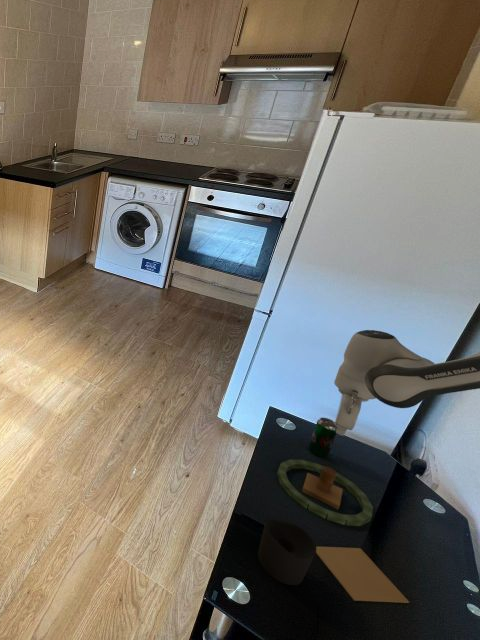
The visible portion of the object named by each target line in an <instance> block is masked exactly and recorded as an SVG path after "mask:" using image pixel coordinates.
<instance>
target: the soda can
mask: <svg viewBox="0 0 480 640" xmlns="http://www.w3.org/2000/svg"><path fill="white" fill-rule="evenodd" d="M337 426H338V425H336V423H335V420H333V419H331V418H328V417H320V418H318V419H317V421H316V424H315V427H314V430H313V432H312V436H311V438H310V442H309V444H308V450H309V452H310V453H312V454H313V455H314V454H315V455H314V456H316V457H319V458H328V457H329V456H330V453H331V450H332V448H333V445H334V442H335V439H336V437H337V435H338V434H337V433H336V429H337Z"/></svg>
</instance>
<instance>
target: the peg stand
mask: <svg viewBox="0 0 480 640" xmlns="http://www.w3.org/2000/svg"><path fill="white" fill-rule="evenodd" d="M323 466H324V467H323V468H322V471H321V474H320V473H319V477H318V476H316V475H315V474H312V473H310V472H307V473H306V477H305V479H304V483H303V486H302V490H301V492H302V493H304V494H306V495H307V496H310V497H312V498H314V499H315V500H317V501H319V502H321V503H324V504H326V505H327V506H329V507H332V508H334V509H336V510H338V511H339V509H340V507H341V502H342V497H343V491H344V489H343V488H341V487H339V486H337V485H335V484H334V482H335V480H334V479H335V477H336V474H337V473H338V472H336V470H335V469H334V468H331V467H330V466H325V465H323Z"/></svg>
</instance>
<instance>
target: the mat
mask: <svg viewBox="0 0 480 640" xmlns="http://www.w3.org/2000/svg"><path fill="white" fill-rule="evenodd" d="M315 555H317V556H318V558H319V559H320V560H321V561H322V562H323V564H324V565H325V566H326V567H327V569H328V570H329V571H330V573H331V574H332V575H333V576H334V578H335V579H336V580H337V582H339V584H340V586H342V588H343V589H344V590H345V591H346V592H347V594H348V595H349V596H350V597H351V599H352V600H353V601H355V602H376V603H377V602H379V603H399V604H400V603H403V604H409V603H410V601H409V600H408V599H407V598H406V597H405V595H404V594H403V593H402V592H401V591H400V590H399V589H398V588H397V586H395V584H393V582H392V581H391V580H390V579H389V578H388V577H387V576H386V575H385V574H384V573H383V571H382V570H381V569H380V568H379V567H378V566H377V565H376V564H375V562H373V560H372V559H371V558H370V557H369V556H368V555H367V554H366V553H365V551H364V550H363V549H362V548H361V547H339V546H317V545H316V553H315Z"/></svg>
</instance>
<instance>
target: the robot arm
mask: <svg viewBox="0 0 480 640" xmlns="http://www.w3.org/2000/svg"><path fill="white" fill-rule="evenodd" d="M333 384H334V385H335V387H336V388H337V390H338V392H339V393H340V394H341V395H340V400H339V405H338V409H337V412H336V416H335V420H334V422H335V423H336V425H338V426H337V429H336V433H337V434H336V435H339V436H342V437H344V436H345V434H346V432H347V431H352V430H353V429H354V428H355V426H356V423H357V421H358V418H359V415H360V412H361V408H362V404H363V403H364V402H368V401H369V400H375V399H377V400H378V401H379V402H380V403H382V404H385V405H387V406H390V407H392V408H397V409H409V408H413V407H415V406H417V405H418V404H420V403H421V402H423V401H425V400H427V399H429V398H431V397H434V396H440V395H445V394H446V395H447V394H453V393H459V392H466V391H472V390H479V389H480V351H479V352H477V353H474V354H472V355H469V356H465V357H462V358H459V359H458V358H457V359H454V360H449V361H442V362H438V363H435V362H433V361H432V360H430V359H428V358H426V357H422V356H420V355H418V354H417V353H415V352H413V351H412V350H411V349H409V348H407V347H406V346H405V345H403V344H402V342H400V341H399V340H398V339H397V337H396V336H395V335H393V334H391V333H388V332H385V331H381V330H377V329H376V330H375V329H364V330H361V331H357V332H355V333H354V334H353V335H352V336H351V338H350V339H349V341H348V344H347V346H346V348H345V350H344V354H343V362H342V364H341V365H340V366H339V368H338V370H337V373H336V376H335V379H334V383H333Z"/></svg>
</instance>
